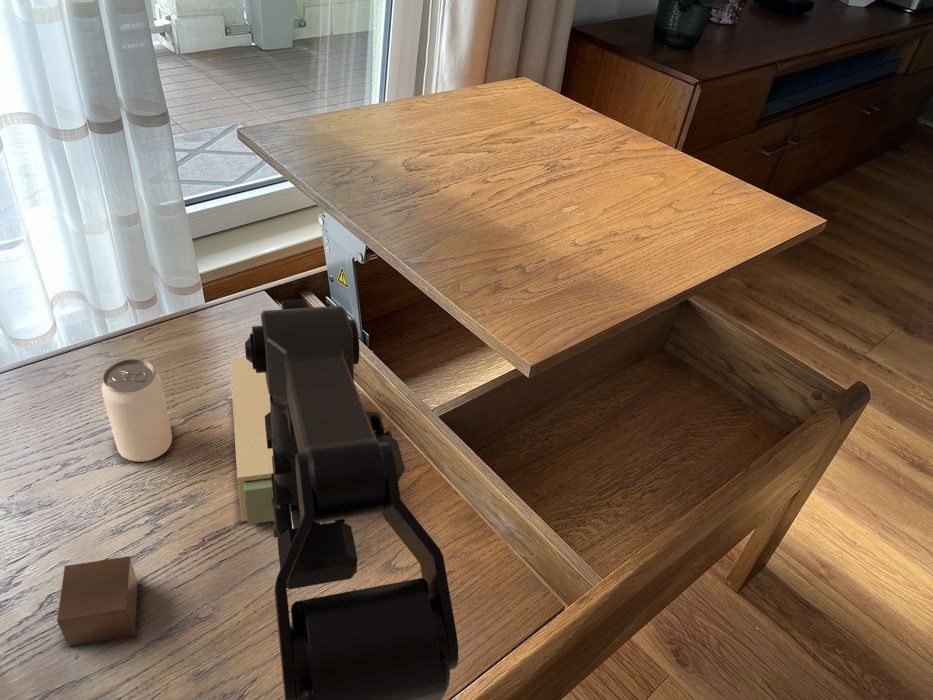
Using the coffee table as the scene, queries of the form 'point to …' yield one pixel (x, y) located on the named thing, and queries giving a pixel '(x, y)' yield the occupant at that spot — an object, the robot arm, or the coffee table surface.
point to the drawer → (260, 502)
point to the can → (136, 410)
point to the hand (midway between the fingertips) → (307, 541)
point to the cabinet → (250, 425)
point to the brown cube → (98, 601)
